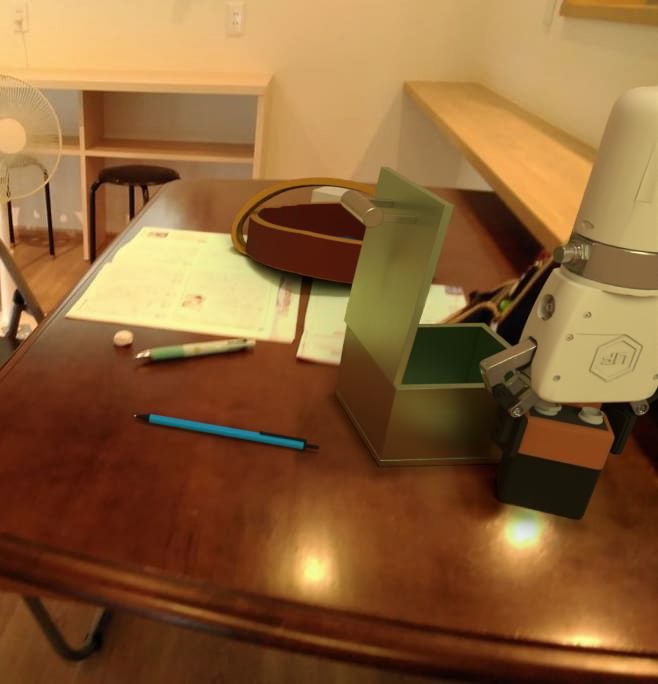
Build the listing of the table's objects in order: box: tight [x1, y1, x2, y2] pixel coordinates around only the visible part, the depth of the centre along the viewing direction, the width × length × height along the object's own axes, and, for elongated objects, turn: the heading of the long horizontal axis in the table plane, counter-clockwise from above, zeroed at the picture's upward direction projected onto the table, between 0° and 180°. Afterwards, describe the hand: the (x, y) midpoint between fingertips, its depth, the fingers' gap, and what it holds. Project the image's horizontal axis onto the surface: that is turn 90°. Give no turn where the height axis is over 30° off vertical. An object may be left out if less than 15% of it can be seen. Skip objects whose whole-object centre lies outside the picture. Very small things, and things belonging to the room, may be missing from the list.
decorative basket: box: [230, 176, 376, 284], centre depth 112 cm, size 34×29×15 cm
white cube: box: [310, 186, 349, 202], centre depth 138 cm, size 6×6×6 cm
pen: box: [134, 413, 320, 451], centre depth 70 cm, size 1×19×1 cm, turn 74°
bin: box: [334, 322, 529, 468], centre depth 71 cm, size 16×14×9 cm
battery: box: [495, 399, 614, 520], centre depth 60 cm, size 4×7×10 cm, turn 69°
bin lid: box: [341, 166, 455, 385], centre depth 64 cm, size 17×14×6 cm
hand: (554, 446), depth 60 cm, fingers open, 9 cm apart
